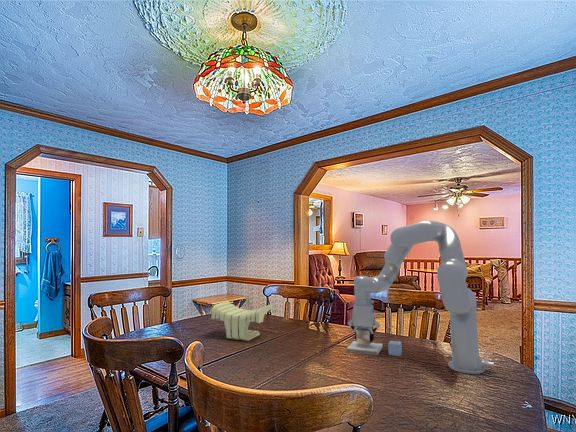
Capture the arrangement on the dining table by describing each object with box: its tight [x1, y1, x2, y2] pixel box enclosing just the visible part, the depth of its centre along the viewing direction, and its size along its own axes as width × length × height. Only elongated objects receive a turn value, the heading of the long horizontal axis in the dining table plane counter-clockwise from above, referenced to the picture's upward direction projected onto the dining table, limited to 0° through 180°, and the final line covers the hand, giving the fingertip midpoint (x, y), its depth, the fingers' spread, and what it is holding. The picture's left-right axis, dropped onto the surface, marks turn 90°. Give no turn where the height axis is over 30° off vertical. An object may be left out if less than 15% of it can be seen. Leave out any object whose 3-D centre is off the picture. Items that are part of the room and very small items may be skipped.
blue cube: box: [387, 340, 403, 357], centre depth 149 cm, size 5×5×5 cm
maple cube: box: [355, 328, 371, 345], centre depth 156 cm, size 6×6×6 cm
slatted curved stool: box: [211, 300, 274, 342], centre depth 183 cm, size 30×16×18 cm, turn 66°
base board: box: [345, 340, 384, 357], centre depth 156 cm, size 14×14×2 cm
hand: (364, 340), depth 156 cm, fingers closed on maple cube, 6 cm apart
